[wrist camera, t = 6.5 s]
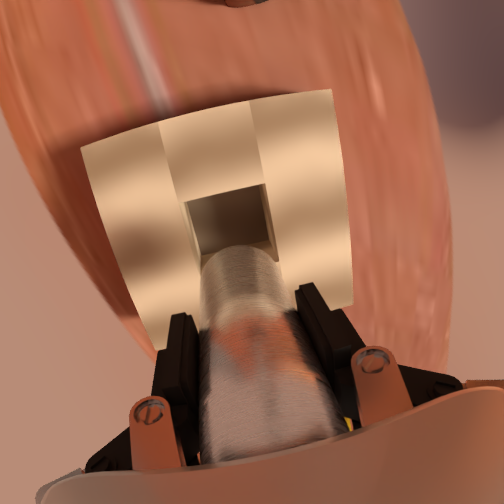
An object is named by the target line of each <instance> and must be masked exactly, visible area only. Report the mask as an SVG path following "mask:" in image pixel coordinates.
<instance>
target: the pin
mask: <svg viewBox="0 0 504 504" xmlns="http://www.w3.org/2000/svg"><path fill="white" fill-rule="evenodd" d="M198 399H199V449H200V465H204V464H212V463H219V462H226V461H232V460H238V459H244V458H249V457H254V456H260V455H264V454H269V453H274V452H278V451H283V450H287V449H291V448H295V447H299V446H303V445H307V444H310V443H314V442H317V441H321V440H324V439H328V438H331V437H334V436H338V435H341V434H344V433H347V432H350V429H349V427H348V425H347V422H346V420H345V418H344V416H343V413H342V411H341V409H340V406H339V404H338V402H337V399H336V397H335V395H334V393H333V390H332V388H331V386H330V383H329V381H328V379H327V377H326V374H325V372H324V370H323V367H322V365H321V363H320V361H319V358H318V356H317V354H316V352H315V349H314V347H313V345H312V343H311V340H310V338H309V336H308V334H307V331H306V329H305V327H304V325H303V322H302V320H301V318H300V316H299V314H298V311H297V309H296V307H295V305H294V303H293V300H292V298H291V296H290V294H289V291H288V289H287V287H286V285H285V283H284V280H283V278H282V276H281V274H280V272H279V270H278V267H277V265H276V263H275V262H274V260H273V259H272V258H271V257H270V256H269V255H268V254H267V253H265V252H264V251H262V250H260V249H258V248H255V247H252V246H246V245H237V246H231V247H228V248H225V249H223V250H221V251H219V252H217V253H216V254H215V255H213V256H212V257H211V258H210V259H209V260H208V261H207V263H206V264H205V266H204V268H203V270H202V273H201V277H200V300H199V352H198Z"/></svg>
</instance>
